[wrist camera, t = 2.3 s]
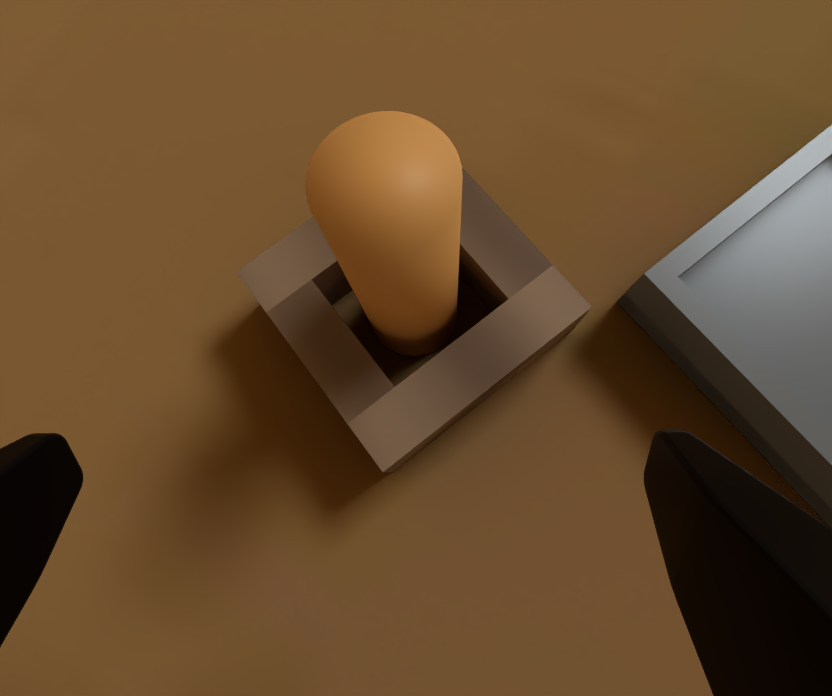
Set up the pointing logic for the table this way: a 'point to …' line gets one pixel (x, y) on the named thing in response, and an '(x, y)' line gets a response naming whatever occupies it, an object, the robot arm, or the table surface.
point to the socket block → (452, 367)
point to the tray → (759, 317)
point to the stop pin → (393, 223)
